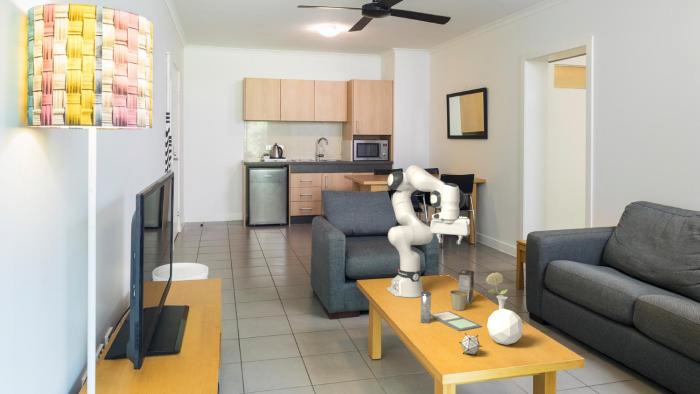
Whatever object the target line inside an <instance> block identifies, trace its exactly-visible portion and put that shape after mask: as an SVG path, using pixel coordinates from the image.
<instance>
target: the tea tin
mask: <svg viewBox="0 0 700 394" xmlns="http://www.w3.org/2000/svg"><path fill="white" fill-rule="evenodd" d="M431 303H432V292H431V291H424V292H421V296H420V323H422V324H424V323H427V325H428V324H431V317H430V316H431V314H432V313H431V312H432V311H431V307H432V304H431Z"/></svg>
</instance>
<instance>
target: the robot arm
mask: <svg viewBox="0 0 700 394" xmlns="http://www.w3.org/2000/svg"><path fill="white" fill-rule="evenodd" d="M386 183H387V186H388V188H389V189H391V190H393V191H395V190H396V191H395V192H394V193H393V194H392V207H393V210H394V215H395V220H396V221H397V223H398V224H399V225H397V226H393V227H391V228H390V229H389V230H388V233H387V238H388V242H389V243H390V244H391V245H392V246H394V247H395V248H396V250H397V253H398V254H399V268H398V269H397V272H398V273H397V275H396V276H395V277H394V278H392V279H391V281H390V282H391V284H390V286H388V287H386V290H387V292H388V291H389V293H391V294H392V295H393V296H394V297H403V298H418V297H421V292H425V291H424V289H423V281H422V280H423V279H422V277H421V273H422V272H421V257H420V254H419V253H418V252H416V251H414V250H412V248H411V246H420V245H421V246H423V245H427V244H429V243H431V242H432V241H433V238H434V234H436V237H437V239H438V243H439V244H443V243H444V239H442V235H453V236H458V240H456V243H455V244H456V245H461V241H462V239H463V238H464V236H469V235H471V226H470V224H471V219H470V218H469V217H468V216H460V209H461V208H463V206H464V205H465V203H466V195H465V193H464V192H463V190H461V189H460V188H459V185H458V184H456V183H451V182H445V181H443V180H441V179H440V178H438V177H435V175H432V174H431V173H430V172H428V171H427V170H425V168H423V167H422V166H419V165H417V164H412V165H410V166H408V167H407V168H406V170H405V171H404V172H403V171H401V170H398V171H392V172H391V173H389V174H388V176H387V178H386ZM421 192H427V193H429V192H430V196H429V202H430V204H431V206H432V207H433V208H435V209H441V210H440V211H439V212H437V213H434V214H432V215H431V221H430V226H429V225H427V224H425V223H423V221H422V220H420V219H419V218H418V216H417V214H416V212H415V210H414V205H413V203H412V199H411V197H414V196H416V195H417V194H419V193H421Z"/></svg>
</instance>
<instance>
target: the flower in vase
mask: <svg viewBox="0 0 700 394" xmlns="http://www.w3.org/2000/svg"><path fill="white" fill-rule="evenodd" d="M485 281H486V284H488V285H490V286H495V289H494V288H493V289H490V290H488V291H487V293H489V294H492V295H493V294H495V293H498V295H496V297H495V298H496V299H497V301H498V310H501V309H505V304H506V301H507V299H508V296H506V295H504V294H506V293H507V292H508V288H507V289H504V290H503V289H502V290H501V291H500V292H499V291H498V288H497V287H498V285H500V284H502V282H503V281H504V277H503V274H500V273H499V272H495V273H494V272H492V273H490V274H489V275H488V276H487V277H486V279H485Z"/></svg>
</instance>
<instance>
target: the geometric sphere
mask: <svg viewBox="0 0 700 394" xmlns="http://www.w3.org/2000/svg"><path fill="white" fill-rule="evenodd" d="M486 325H487V326H486V327H487V331H488V333H489V335H488V336H489V337H490V338H491V339H492V340H494V341H495V342H496V343H498V344H501V345H504V346H509V345H511V344H516V343H517V341H519V340H520V339H521V337H523V330H524V325H523V321H522V318H521V317H520V316H519V315H518V314H517V313H516V312H515V311H512V310H510V309H507V308H504V309H501V310H499V309H496V310H495V311H493V312H492V313H491V315H489V317H488V320H487V324H486Z"/></svg>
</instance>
